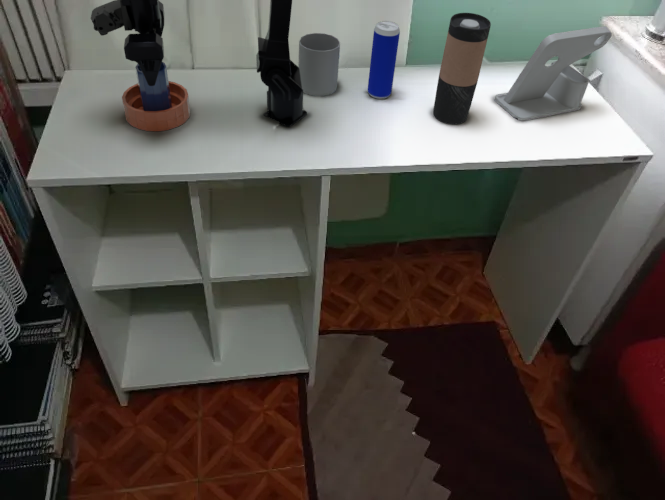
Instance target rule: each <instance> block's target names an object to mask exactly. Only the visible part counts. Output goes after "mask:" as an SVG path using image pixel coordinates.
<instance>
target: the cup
mask: <svg viewBox="0 0 665 500" xmlns="http://www.w3.org/2000/svg"><path fill="white" fill-rule="evenodd" d="M340 52H341V42H340V40H339V38H337V37H335V36H334V35H332V34H328V33H323V32H313V33H307V34H304V35H302V36H301V37H300V38H299V40H298V62H297V63H298V64H297V66H298V67H299V69H300V76H301V84H302V89H303V94H306V95H309V96H312V97H315V96H316V97H325V96H330V95H332V94H333V93H335V92H336V90H337V88H338V78H339V66H340V65H339V64H340Z"/></svg>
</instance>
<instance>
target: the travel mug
mask: <svg viewBox="0 0 665 500" xmlns="http://www.w3.org/2000/svg"><path fill="white" fill-rule="evenodd" d="M448 25H449V26H448V29H447V35H446V39H445V45H444V49H443V55H442V59H441V63H440V68H439V72H438V73H439V74H438V79H437V86H436V91H435V97H434V103H433V110H432V114H433V117H434V118H435V119H436V120H437V121H439V122H441V123H444V124H447V125H460V124H463V123H465V122H466V121H467V120H468V118H469V117H468V116H469V113H470V110H471V107H472V104H473V99H474V95H475V92H476V90H477V86H478V82H479V77H480V74H481V70H482V65H483V61H484V55H485V51H486V47H487V43H488V39H489V35H490V30H491V25H492V24H491V21H490V20H489V18H487V17H485V16H484V15H481V14H478V13H473V12H457V13H455V14H453V15H452V16H451V17H450V20H449V24H448Z"/></svg>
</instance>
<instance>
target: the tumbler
mask: <svg viewBox="0 0 665 500" xmlns="http://www.w3.org/2000/svg"><path fill="white" fill-rule="evenodd" d="M134 69H135V75H136V79H137V83H138V86H139V92H140V98H141V103H142V109H143V111H161V110H166V109H170V108H172V104H171V96H170V89H169V82H168V81H169V76H168V68H167V65H166V63H165V62H164V61H162V63H161V66H160V70H159V73H158V76H157V80H156V83H155V85H154V86H149V85H148V83H147V81H146V79H145V77H144V74H143V72H142V70H141V68H140V66H139V64H138V63H137V64H136V65H135V67H134Z"/></svg>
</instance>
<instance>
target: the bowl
mask: <svg viewBox="0 0 665 500" xmlns="http://www.w3.org/2000/svg"><path fill="white" fill-rule="evenodd" d="M168 82H169V89H170V96H171V104H172V108H170V109H166V110H161V111H143V109H142V103H141V98H140V92H139V86H138V82H137V83H135V84H134V85H131V86H129V87H127V89H126V90H125V91H124V92H123V94H122V95H121V100H122V107H123V111H124V116H125V120H126V122H127V123H128V124H129V125H130V126H131V127H133V128H135V129H138V130H142V131H146V132H163V131H169V130H172V129H175V128H178V127H180V126H182V125H184V124H185V123H187V121H188V120H189V118H190V116H191V105H190V95H189V92H188V89H186V88H185V87H184V86H183V85H182V84H180V83H178V82H176V81H172V80H171V81H170V80H168Z"/></svg>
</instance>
